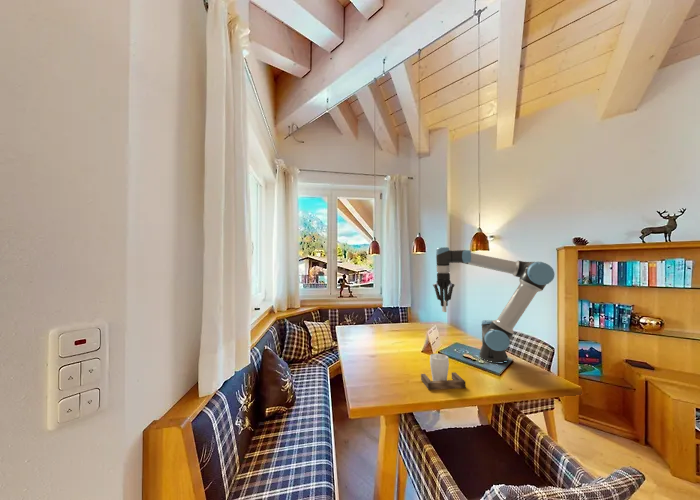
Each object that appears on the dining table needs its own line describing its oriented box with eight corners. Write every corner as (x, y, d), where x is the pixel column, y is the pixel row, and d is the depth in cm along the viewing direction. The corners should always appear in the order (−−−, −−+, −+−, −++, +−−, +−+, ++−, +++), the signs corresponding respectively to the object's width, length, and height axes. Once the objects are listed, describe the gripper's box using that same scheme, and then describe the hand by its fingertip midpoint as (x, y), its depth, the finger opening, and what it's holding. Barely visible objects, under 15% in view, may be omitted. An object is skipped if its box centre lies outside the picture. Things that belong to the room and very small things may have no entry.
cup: (450, 386, 123) (449, 361, 124) (430, 383, 126) (430, 359, 126) (448, 377, 132) (447, 354, 132) (429, 375, 134) (429, 352, 135)
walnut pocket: (455, 378, 131) (455, 372, 132) (465, 388, 121) (465, 381, 122) (421, 379, 130) (421, 373, 130) (428, 389, 120) (428, 383, 120)
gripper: (450, 272, 161) (451, 310, 160) (430, 272, 160) (431, 310, 159) (456, 272, 153) (457, 312, 152) (435, 273, 152) (436, 313, 151)
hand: (444, 311), depth 155 cm, fingers closed
